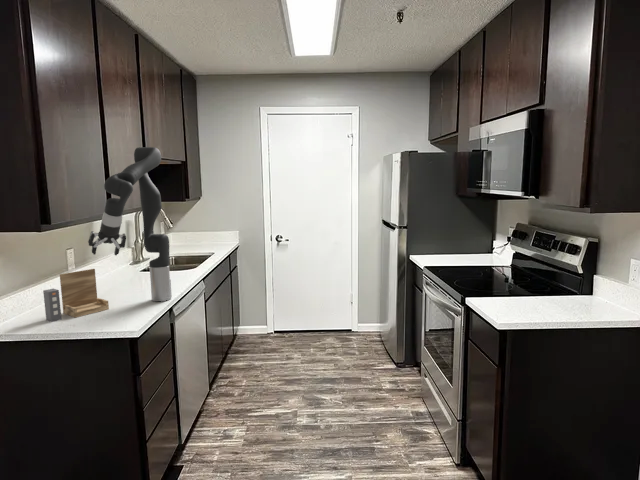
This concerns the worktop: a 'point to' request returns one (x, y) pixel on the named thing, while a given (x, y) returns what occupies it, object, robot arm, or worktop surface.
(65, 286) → the wooden angled stand
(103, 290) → the worktop surface
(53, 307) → the power strip
